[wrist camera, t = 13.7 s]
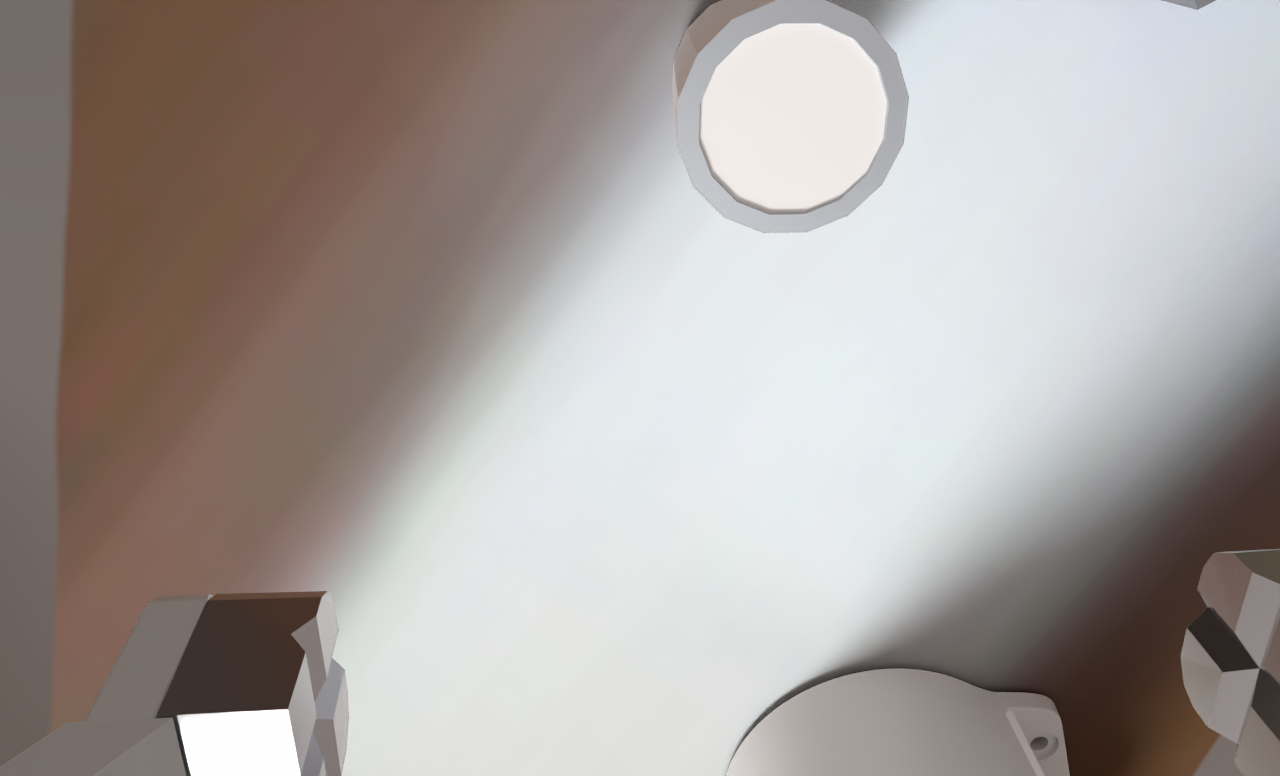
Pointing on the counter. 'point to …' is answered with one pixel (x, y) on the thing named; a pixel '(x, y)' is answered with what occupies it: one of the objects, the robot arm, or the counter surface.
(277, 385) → the counter surface
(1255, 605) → the robot arm
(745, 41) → the shot glass
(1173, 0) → the bin
